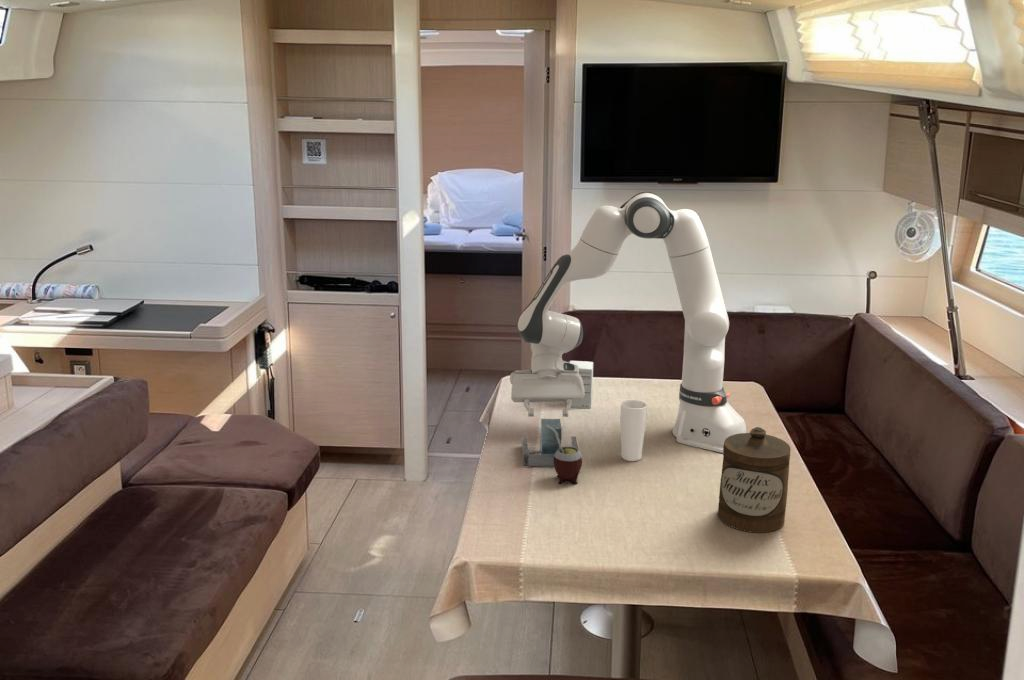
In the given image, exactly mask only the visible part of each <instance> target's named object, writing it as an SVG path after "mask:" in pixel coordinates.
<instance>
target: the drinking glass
mask: <svg viewBox="0 0 1024 680" xmlns="http://www.w3.org/2000/svg"><path fill="white" fill-rule="evenodd" d="M619 416H620V418H619V419H620V444H621V445H620V447H621V448H620V449H621V450H620V451H621V452H620V455H621V458H622V459H623V460H624V461H627V462H638V461H640V460H641V458H642V456H643V446H644V438H645V434H646V426H647V418H648V417H647V416H648V404H647V403H646V402H644V401H641V400H636V399H635V400H633V399H629V400H624V401H622V402H621V404H620V415H619Z"/></svg>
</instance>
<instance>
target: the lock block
mask: <svg viewBox="0 0 1024 680" xmlns="http://www.w3.org/2000/svg"><path fill="white" fill-rule="evenodd" d="M561 422H562V421H561V419H560V418H541V419H540V446H539V447H540V448H539V453H540V454H555V453H556V451H557V450H558V449H559V448H560V447H559V444H558V441H557V439H556V436H555V434H554V432H553V431H552V430H551V429H550V428H549V427H547V426H546V424H547V425H548V426H550V427H552V428H553V429H554V430H555V431H557V433H558V437H559V440H560V443H561V444H562V437H563V436H562V433H563V428H562V423H561Z"/></svg>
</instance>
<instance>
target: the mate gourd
mask: <svg viewBox="0 0 1024 680" xmlns="http://www.w3.org/2000/svg"><path fill="white" fill-rule="evenodd" d="M546 426H547V427H549V428H550V429H551V430H552V431H553V432H554V434H555V436H556V439H557V441H558V444H559V447H560V448H559V449H558V450H557V451H556V453H555V454H554V460H553V461H554V471H555V472H556V474H557V475H556V477H558V480H559V481H558V482H557V483H558V485H562V484H565V483H567V482H568V483H571V484H573V485H578V477H579V473H580V471H581V469H582V466H583V458H582V454H581V452H580V449H579V450H578V449H576V448H574V447H571V446H562V442H561V443H560V440H559V437H558V433H557V431H555V430H554V429H553V428H552V427H550V426H548V425H547V424H546Z"/></svg>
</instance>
